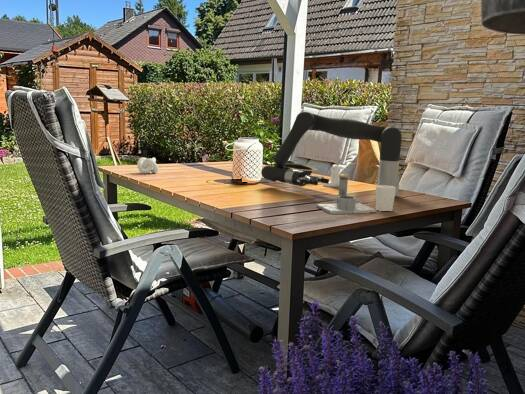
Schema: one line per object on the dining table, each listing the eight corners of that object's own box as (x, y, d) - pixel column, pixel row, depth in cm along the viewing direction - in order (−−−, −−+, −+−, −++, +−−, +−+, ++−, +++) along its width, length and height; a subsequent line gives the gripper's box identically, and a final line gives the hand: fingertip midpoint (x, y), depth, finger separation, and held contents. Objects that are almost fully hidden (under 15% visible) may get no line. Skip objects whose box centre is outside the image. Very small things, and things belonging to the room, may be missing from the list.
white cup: (385, 213, 199) (387, 188, 197) (370, 209, 205) (372, 185, 203) (397, 211, 204) (399, 187, 202) (382, 207, 210) (384, 184, 208)
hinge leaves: (359, 205, 212) (360, 193, 211) (375, 212, 199) (376, 200, 198) (316, 206, 206) (317, 194, 205) (330, 214, 193) (331, 201, 192)
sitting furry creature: (335, 184, 268) (336, 162, 266) (346, 187, 261) (347, 164, 259) (322, 185, 263) (323, 163, 261) (332, 188, 256) (334, 165, 254)
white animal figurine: (140, 174, 278) (140, 159, 277) (134, 172, 288) (134, 156, 287) (159, 174, 284) (159, 158, 282) (153, 171, 294) (153, 156, 292)
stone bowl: (267, 174, 296) (269, 159, 295) (303, 176, 307) (305, 162, 306) (287, 180, 274) (288, 163, 273) (324, 182, 285) (326, 166, 284)
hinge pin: (344, 200, 224) (346, 173, 222) (349, 201, 220) (351, 175, 218) (335, 200, 223) (337, 174, 221) (339, 202, 219) (341, 175, 216)
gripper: (286, 171, 233) (314, 175, 222) (305, 169, 243) (332, 173, 232) (286, 186, 234) (313, 191, 223) (304, 184, 244) (331, 188, 233)
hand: (323, 182), depth 228 cm, fingers open, 8 cm apart
